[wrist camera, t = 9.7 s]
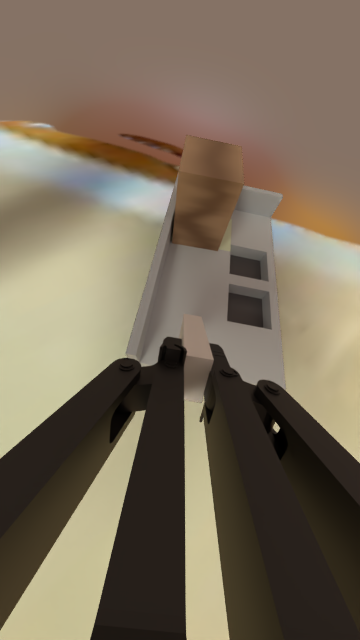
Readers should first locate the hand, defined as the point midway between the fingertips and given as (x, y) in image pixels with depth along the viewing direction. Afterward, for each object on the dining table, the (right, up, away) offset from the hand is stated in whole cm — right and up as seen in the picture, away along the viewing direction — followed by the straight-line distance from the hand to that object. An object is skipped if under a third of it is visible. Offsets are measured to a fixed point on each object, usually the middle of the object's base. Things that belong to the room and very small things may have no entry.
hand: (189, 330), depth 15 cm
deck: (+4, +6, +9) cm, 12 cm away
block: (+2, +13, +10) cm, 17 cm away
